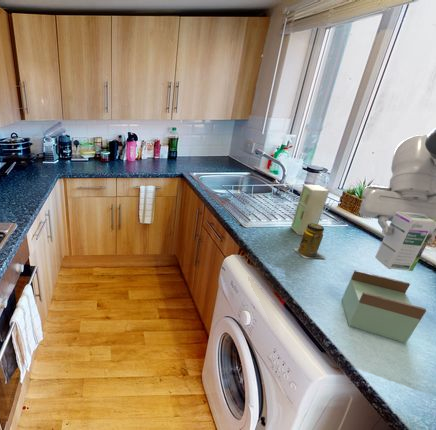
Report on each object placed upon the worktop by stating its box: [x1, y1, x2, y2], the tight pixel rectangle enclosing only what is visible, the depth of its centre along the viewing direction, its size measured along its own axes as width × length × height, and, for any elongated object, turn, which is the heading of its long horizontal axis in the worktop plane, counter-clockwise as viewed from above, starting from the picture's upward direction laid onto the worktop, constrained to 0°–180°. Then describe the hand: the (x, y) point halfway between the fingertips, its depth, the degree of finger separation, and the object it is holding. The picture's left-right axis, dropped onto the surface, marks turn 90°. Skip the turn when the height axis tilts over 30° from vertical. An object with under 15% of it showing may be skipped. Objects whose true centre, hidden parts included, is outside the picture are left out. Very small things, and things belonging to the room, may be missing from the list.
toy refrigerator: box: [290, 184, 330, 236], centre depth 124 cm, size 8×7×21 cm
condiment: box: [293, 223, 326, 259], centre depth 109 cm, size 7×8×12 cm
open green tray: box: [341, 269, 427, 344], centre depth 78 cm, size 12×12×11 cm
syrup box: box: [375, 211, 436, 272], centre depth 74 cm, size 6×6×14 cm
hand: (407, 238), depth 73 cm, fingers closed on syrup box, 7 cm apart
